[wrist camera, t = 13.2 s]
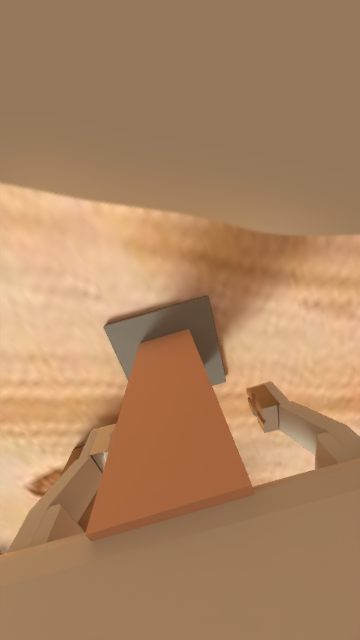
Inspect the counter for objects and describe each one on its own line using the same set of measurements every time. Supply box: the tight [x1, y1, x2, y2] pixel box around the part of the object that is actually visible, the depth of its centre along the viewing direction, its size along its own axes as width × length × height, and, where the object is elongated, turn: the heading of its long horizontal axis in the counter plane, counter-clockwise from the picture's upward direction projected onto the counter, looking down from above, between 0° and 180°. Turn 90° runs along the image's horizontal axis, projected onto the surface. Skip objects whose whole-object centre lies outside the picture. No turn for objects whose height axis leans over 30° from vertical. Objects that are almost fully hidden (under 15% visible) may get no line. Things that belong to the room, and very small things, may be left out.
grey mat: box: [104, 296, 226, 386], centre depth 17 cm, size 10×10×1 cm
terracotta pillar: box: [85, 329, 254, 541], centre depth 11 cm, size 5×5×12 cm
